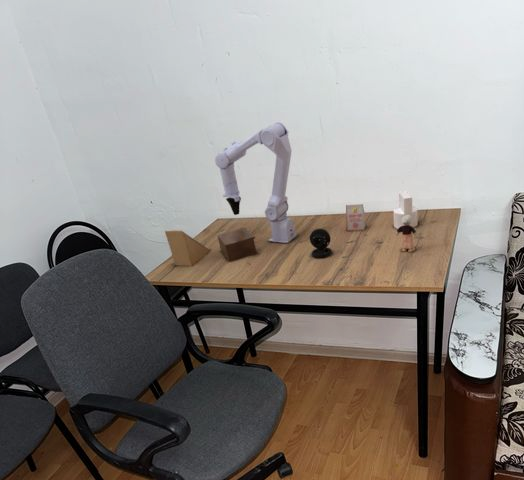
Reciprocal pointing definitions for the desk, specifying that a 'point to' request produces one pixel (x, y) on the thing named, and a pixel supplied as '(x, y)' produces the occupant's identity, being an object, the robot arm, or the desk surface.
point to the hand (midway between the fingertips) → (236, 214)
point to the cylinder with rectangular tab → (405, 210)
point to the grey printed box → (355, 217)
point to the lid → (235, 236)
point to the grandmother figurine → (407, 234)
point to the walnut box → (238, 249)
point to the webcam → (320, 243)
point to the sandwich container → (185, 248)
